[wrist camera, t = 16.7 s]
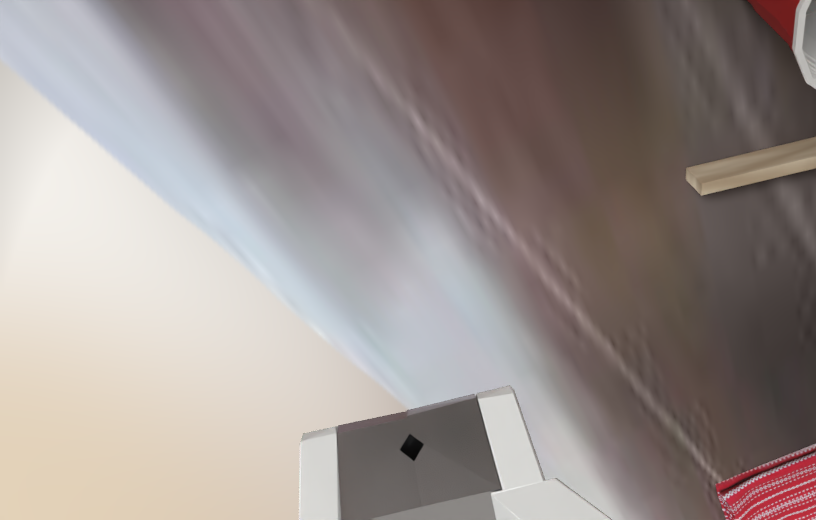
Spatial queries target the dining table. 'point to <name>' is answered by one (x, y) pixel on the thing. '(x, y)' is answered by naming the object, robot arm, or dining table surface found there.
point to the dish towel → (773, 489)
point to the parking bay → (753, 167)
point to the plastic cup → (794, 29)
